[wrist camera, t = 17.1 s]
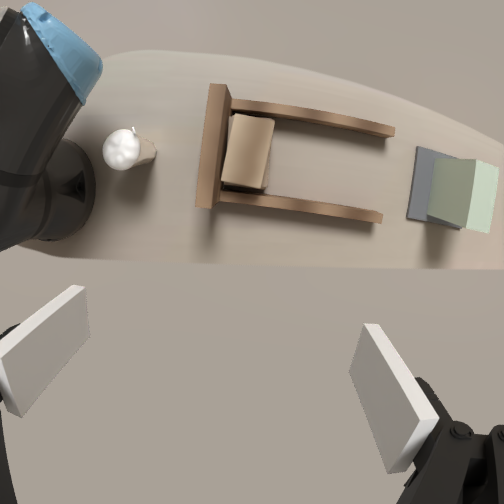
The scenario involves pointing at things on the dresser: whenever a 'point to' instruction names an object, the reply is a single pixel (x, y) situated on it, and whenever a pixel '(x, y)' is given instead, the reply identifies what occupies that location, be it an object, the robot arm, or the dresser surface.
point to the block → (463, 192)
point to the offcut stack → (248, 151)
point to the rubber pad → (424, 186)
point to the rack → (224, 106)
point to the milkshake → (127, 149)
